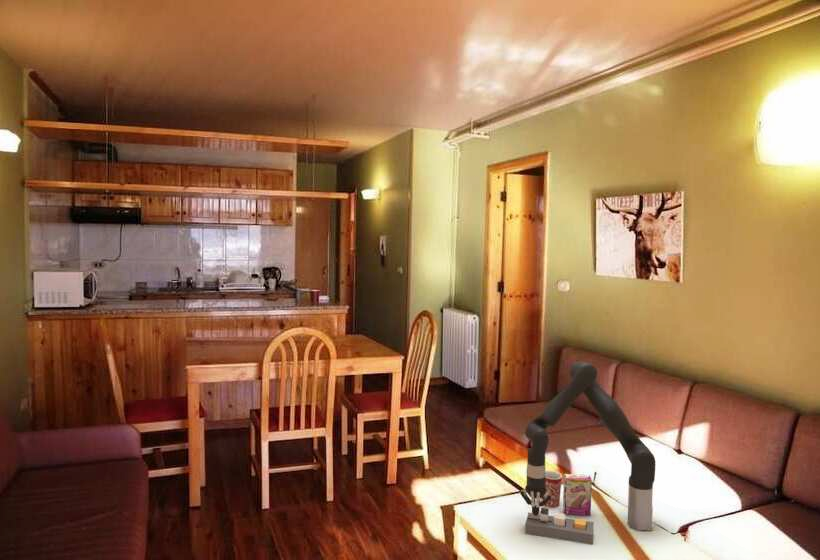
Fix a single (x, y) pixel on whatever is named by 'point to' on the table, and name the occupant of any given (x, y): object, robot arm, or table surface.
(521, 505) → the table surface
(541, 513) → the slide switch
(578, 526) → the amber button
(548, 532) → the control panel
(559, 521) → the beige button
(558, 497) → the mug
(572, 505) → the candy bar box
